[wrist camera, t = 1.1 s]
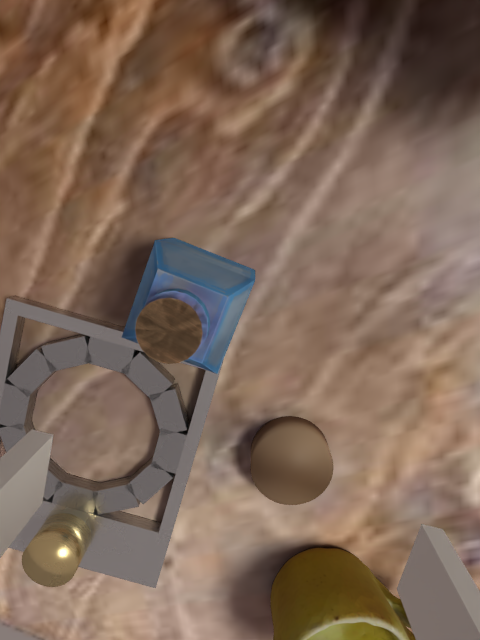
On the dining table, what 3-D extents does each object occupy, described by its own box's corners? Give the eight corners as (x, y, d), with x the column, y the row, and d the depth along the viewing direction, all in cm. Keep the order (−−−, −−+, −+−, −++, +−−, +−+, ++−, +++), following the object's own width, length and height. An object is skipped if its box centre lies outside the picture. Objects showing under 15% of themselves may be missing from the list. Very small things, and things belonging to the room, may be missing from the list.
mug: (252, 667, 37) (286, 775, 27) (255, 536, 38) (289, 594, 28) (391, 654, 39) (469, 750, 29) (390, 531, 40) (464, 584, 30)
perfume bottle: (145, 317, 33) (86, 366, 21) (174, 237, 32) (127, 243, 20) (224, 347, 33) (207, 412, 22) (255, 270, 32) (255, 294, 20)
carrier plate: (15, 295, 33) (-19, 305, 29) (224, 356, 34) (219, 374, 29) (-29, 525, 37) (-64, 562, 33) (158, 576, 38) (146, 619, 34)
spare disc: (263, 406, 34) (264, 419, 32) (338, 427, 35) (344, 443, 32) (241, 474, 36) (240, 492, 33) (313, 494, 36) (318, 514, 33)
